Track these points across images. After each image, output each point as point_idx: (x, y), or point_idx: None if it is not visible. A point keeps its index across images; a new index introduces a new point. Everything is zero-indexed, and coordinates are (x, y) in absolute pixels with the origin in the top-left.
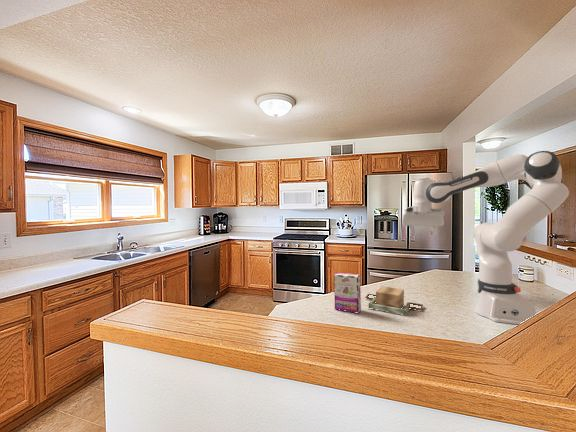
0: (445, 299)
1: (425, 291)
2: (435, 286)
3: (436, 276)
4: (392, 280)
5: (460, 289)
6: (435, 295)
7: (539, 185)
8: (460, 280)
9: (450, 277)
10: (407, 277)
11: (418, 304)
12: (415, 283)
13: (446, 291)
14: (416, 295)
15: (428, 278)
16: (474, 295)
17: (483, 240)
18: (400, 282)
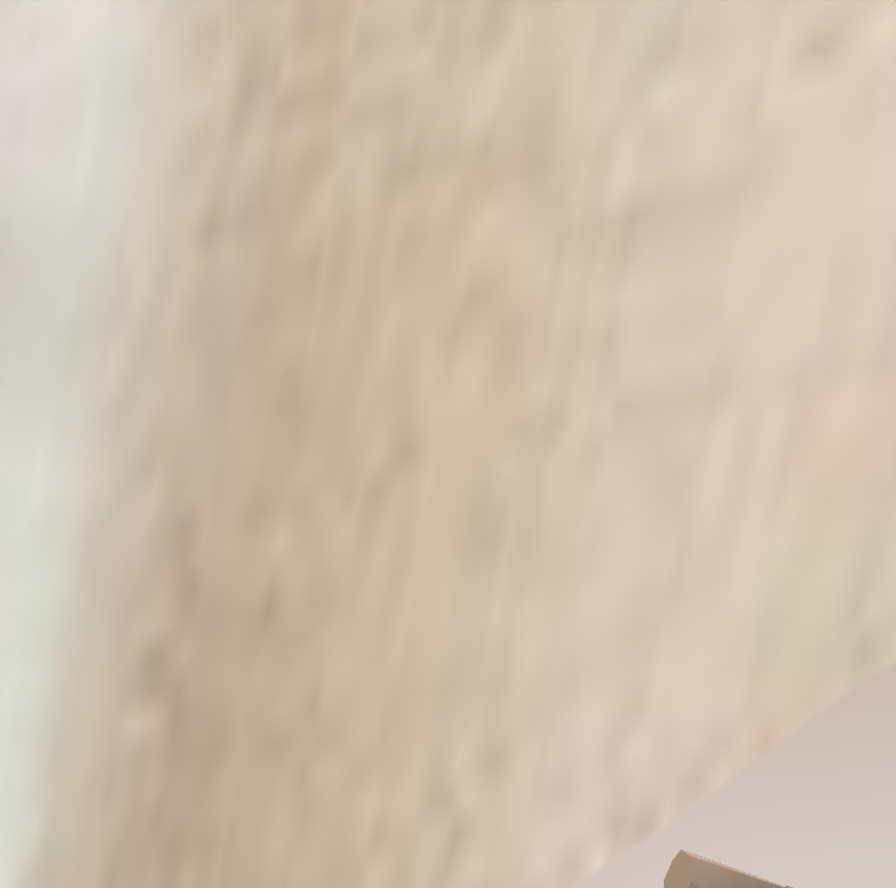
0: (371, 69)
1: (525, 312)
2: (389, 519)
3: (320, 868)
4: (838, 688)
5: (181, 457)
6: (446, 187)
7: None
8: (136, 750)
9: (202, 841)
10: (627, 820)
11: None
12: (580, 599)
13: (314, 362)
14: (656, 127)
15: (409, 795)
16: (98, 288)
17: None
18: (751, 616)
